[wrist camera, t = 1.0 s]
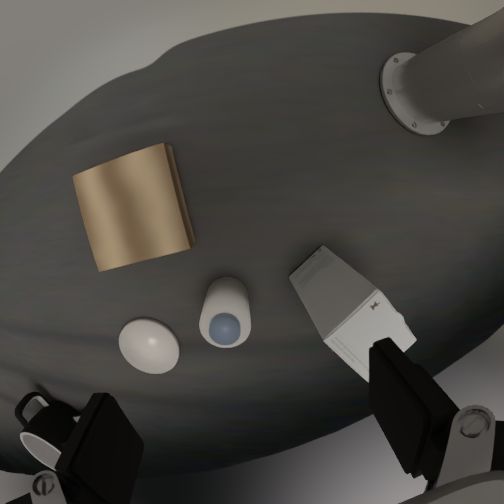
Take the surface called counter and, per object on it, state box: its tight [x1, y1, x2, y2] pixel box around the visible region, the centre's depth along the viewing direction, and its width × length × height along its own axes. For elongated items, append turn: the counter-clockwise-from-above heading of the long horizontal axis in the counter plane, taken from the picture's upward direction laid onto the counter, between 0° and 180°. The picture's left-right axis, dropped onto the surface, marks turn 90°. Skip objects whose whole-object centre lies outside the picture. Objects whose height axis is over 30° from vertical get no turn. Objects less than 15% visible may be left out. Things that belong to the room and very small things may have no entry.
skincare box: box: [289, 245, 416, 382], centre depth 30 cm, size 8×7×16 cm
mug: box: [15, 392, 81, 470], centre depth 37 cm, size 16×16×12 cm
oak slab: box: [73, 142, 195, 272], centre depth 32 cm, size 12×12×4 cm
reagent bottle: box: [199, 277, 251, 348], centre depth 33 cm, size 5×5×9 cm
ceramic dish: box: [119, 318, 180, 374], centre depth 38 cm, size 9×9×1 cm
